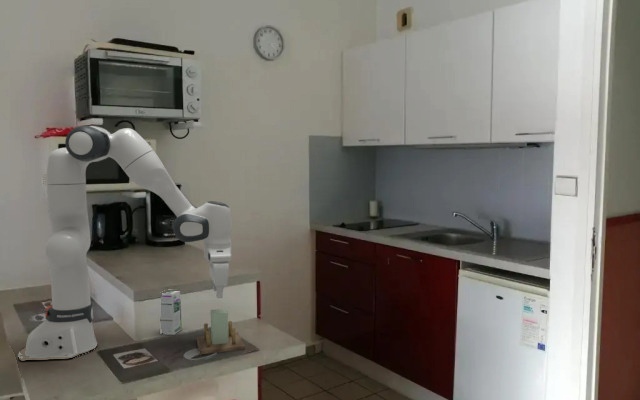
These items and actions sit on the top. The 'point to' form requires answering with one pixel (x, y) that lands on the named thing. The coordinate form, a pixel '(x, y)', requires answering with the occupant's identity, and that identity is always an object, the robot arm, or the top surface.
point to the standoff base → (208, 347)
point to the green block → (219, 326)
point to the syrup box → (170, 313)
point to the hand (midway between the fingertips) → (217, 294)
